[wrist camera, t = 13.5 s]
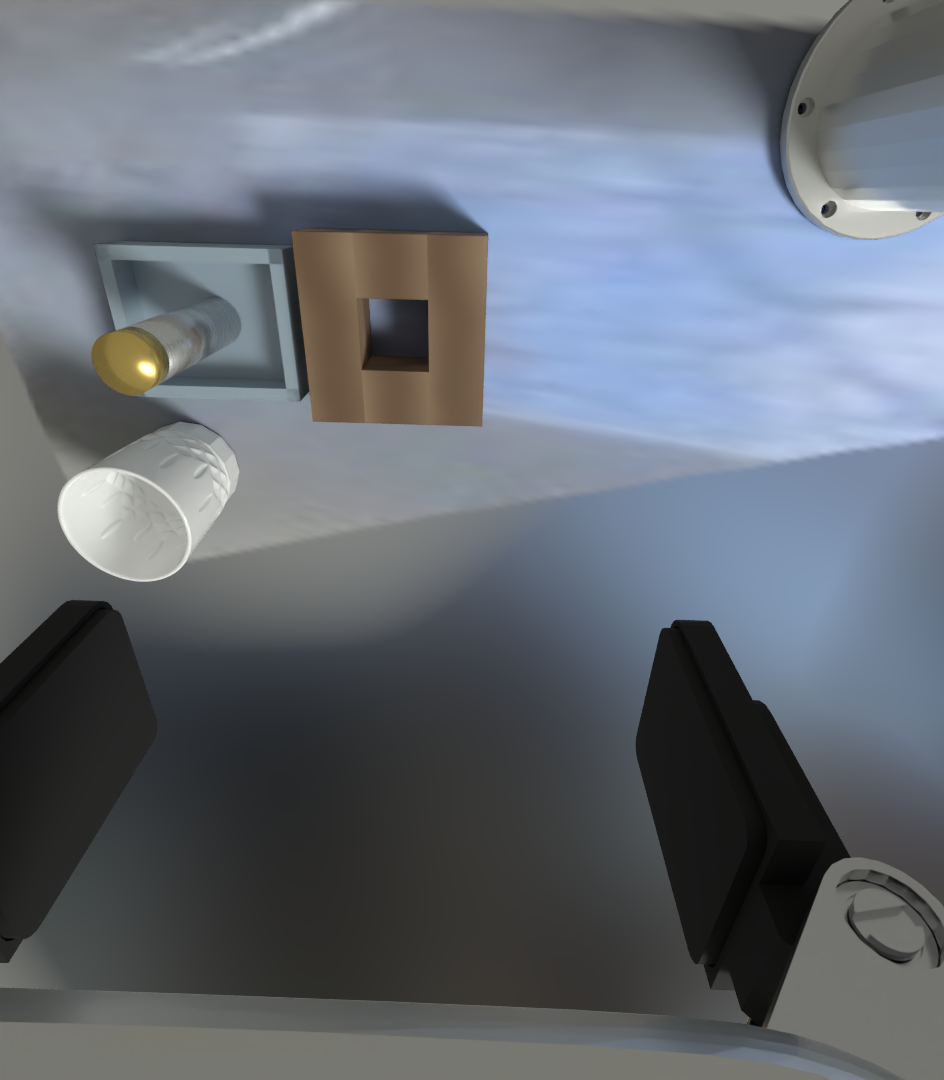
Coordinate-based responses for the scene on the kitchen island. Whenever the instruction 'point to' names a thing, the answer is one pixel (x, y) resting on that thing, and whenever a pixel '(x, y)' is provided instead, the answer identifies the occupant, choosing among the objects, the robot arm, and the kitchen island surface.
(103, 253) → the tray
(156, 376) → the pin
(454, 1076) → the robot arm
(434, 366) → the socket block
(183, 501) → the white cup
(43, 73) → the kitchen island surface
